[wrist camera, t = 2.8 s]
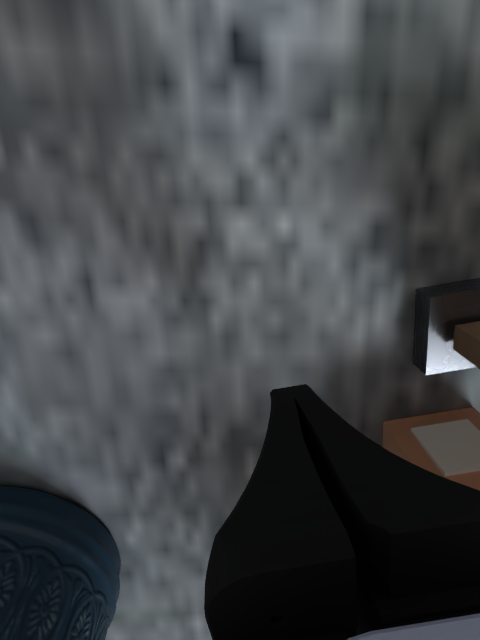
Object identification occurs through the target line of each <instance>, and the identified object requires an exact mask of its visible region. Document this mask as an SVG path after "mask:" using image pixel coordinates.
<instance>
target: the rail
mask: <svg viewBox="0 0 480 640" xmlns="http://www.w3.org/2000/svg"><path fill="white" fill-rule="evenodd" d="M478 321H480V279H474V280H468V281H462V282H455V283H449V284H443V285H437V286H431V287H425V288H419V289H416V305H415V328H414V351H413V363H414V364H415V365H416V366H417V367H418V368H419V369H420V370H421V371H422V372H423V373H424V374H425V375H431V374H437V373H443V372H449V371H455V370H461V369H467V368H473V367H476V366H475V365H474V364H472V363H471V362H469V361H468V360H467V359H465V358H464V357H463V356H461V355H460V354H459V353H457V352H456V351H455V350H453V340H454V330H455V325H460V324H466V323H472V322H478Z"/></svg>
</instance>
